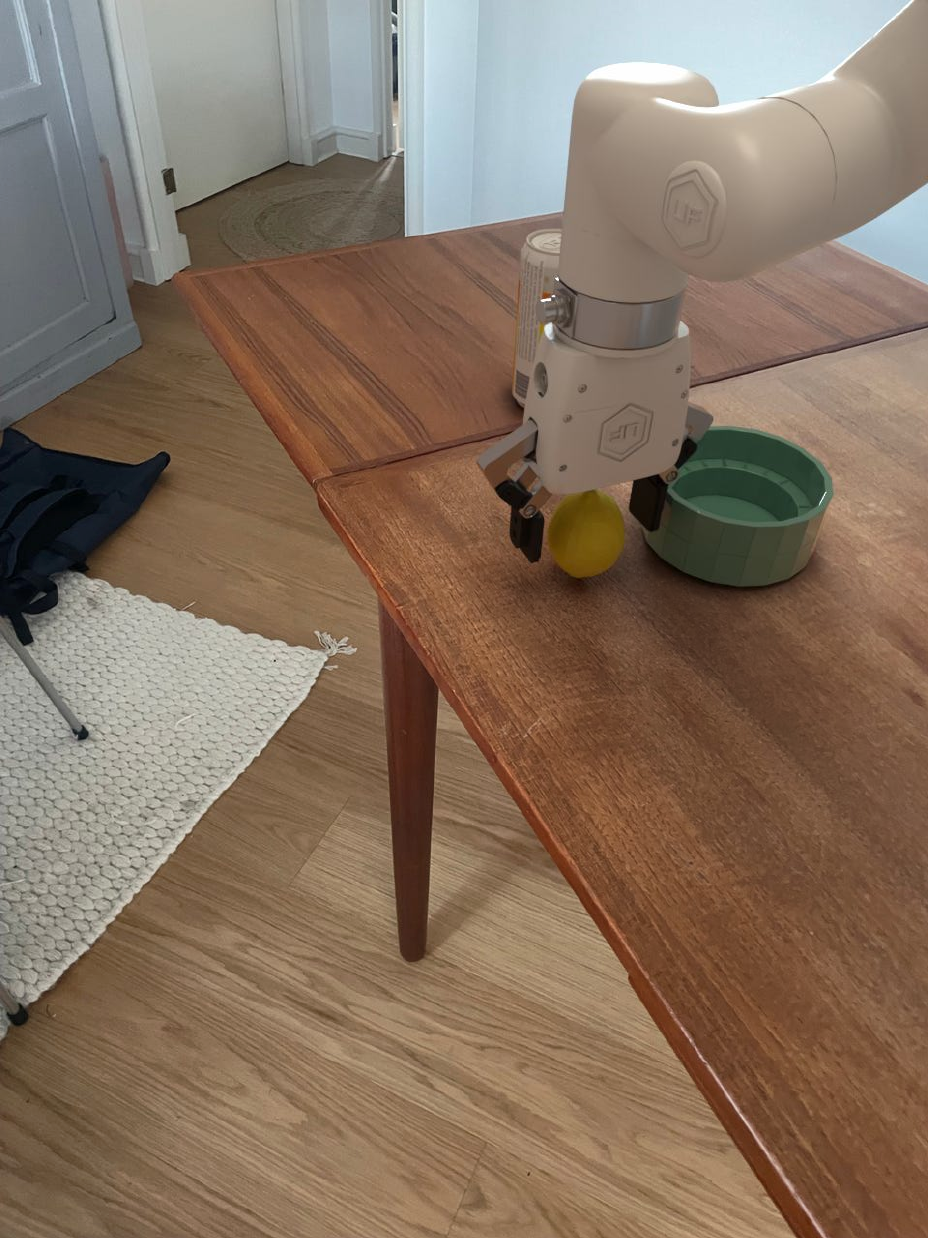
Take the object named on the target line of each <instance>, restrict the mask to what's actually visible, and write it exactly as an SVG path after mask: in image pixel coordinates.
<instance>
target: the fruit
mask: <svg viewBox="0 0 928 1238" xmlns="http://www.w3.org/2000/svg"><path fill="white" fill-rule="evenodd" d="M546 532H547V533H546V538H547V539H546V541H547V546H548V549H549V552H550V554H551V557H552V558H553V560H554V562H555V563H556V565H558V567H559V568H561V569H562V570H563V571H564V572H566V573H568V574H569V576H570V577H573V578H575V579H582V578H590V577H595V576H598V575H600V574H602V573H604V572H606V571H607V570H609V569H610V568H611V567H612V566H613V565H614V564H615V562H616V561H617V560H618V559H619V557H620V555H621V553H622V551H623V548H624V544H625V538H626V526H625V519H624V516H623V513H622V511H621V509H620V507H619V505H618V503H617V501H616V500H615V499H614V498H613V497H612V496H611V495H608V493H605V492H602V491H599V490H597V489H595V490H591V491H586V492H582V493H577V494H572V495H565V497H563V499H562V500H561V501H560V502H559V503H558V504H557V505H556V507H555V509H554V510H553V513H552V514H551V517H550V520H549V522H548V527H547V531H546Z"/></svg>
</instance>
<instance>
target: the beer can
mask: <svg viewBox="0 0 928 1238" xmlns="http://www.w3.org/2000/svg"><path fill="white" fill-rule="evenodd" d="M561 232H562V228H545V229H544V228H543V229H539V230H535V231H533V232H531V233H529V234H528V235H527V236H526V238H525V239H526V241H525V242H524V244H523V246H522V248H521V249H520V256H519V257H520V259H519V273H518V287H517V288H518V289H517V290H518V291H517V292H518V293H517V304H516V320H515V337H514V348H513V349H514V351H513V364H512V365H513V367H512V382H511V393H512V396H513V398H514V399H515V400H516V401H517V403H518V405H519V406H521V408H522V409H524V408H525V402H526V396H527V390H528V385H529V380H530V375H531V371H532V366H533V362H534V358H535V355H536V351H537V348H538V344H539V341H540V338H541V335H542V332H543V330H544V327H545V325H547V324H549V323H545V324H541V323H540V322H539V321H538V319H537V316H536V304H537V302H538V301H539V300H544V299H548V297H549V296H553V291H554V280H555V278H557V273H558V266H559V254H560V243H561Z"/></svg>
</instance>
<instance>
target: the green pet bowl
mask: <svg viewBox="0 0 928 1238" xmlns="http://www.w3.org/2000/svg"><path fill="white" fill-rule="evenodd" d="M678 471H679V477H678V479H677V480H676V481H675V482H673V483H671V484H669V485H668V490H667V495H666V499H665V504H664V509H663V511H662V515H661V520H660V525H659V529H658V530H657V531H653V532H650V531H647V530H646V529H645V528H644V527H643V525H642V524H641V523H640V527H641V531H642V533H643V535H644V539H645V541H646V543H647V544H648V545H649V547H651V549H652V550H653V551H654V552H655V553H656V555H658V557H660V558H661V560H664V561H665V562H667V563H668V564H670V565H672V566H673V567H674V568H676V569H678V570H679V571H681V572H683V573H685V574H687V575H689V576H692V577H696V578H698V579H701V580H703V581H706V582H710V583H715V584H720V585H727V586H732V587H733V586H734V587H739V588H740V587H759V586H761V587H762V586H769V585H772V584H775V583H779V582H783V581H786V580H789V579H791V578H792V577H793V576H794V575H796V574H797V573H800V571H802V570H804V568H806V567H807V564H808V563H809V561H810V559H811V557H812V556H813V553H814V550H815V548H816V545H817V542H818V540H819V536H820V533H821V531H822V529H823V525H824V522H825V520H826V517H827V515H828V512H829V509H830V506H831V503H832V500H833V498H834V495H835V494H834V485H833V477H832V476H831V475H830V473H829V471H828V469H827V468H826V467H825V465H824V463H823V462H822V461H820V460H819V459H818V458H817V457H816V456H814V455H813V454H812V453H811V452H809V451H808V450H807V449H806V448H804V447H802V446H801V445H799V444H796V443H795V442H792V441H790V440H788V439H787V438H785V437H782V436H779V435H776V434H774V433H771V432H767V431H763V430H760V429H755V428H748V427H742V426H735V425H710V427H709V428H708V430H707V431H706V433H705V434H704V436H703V437H702V439H701V440H700V441H698V442H697V450H696V452H695V453H694V454H693V455H692V456H691V457H690V458H689V459H688V460H687V461H686V462H685V463H684V464H683V465H682V466H681V467H680V468H679V469H678Z"/></svg>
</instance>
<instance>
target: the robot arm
mask: <svg viewBox="0 0 928 1238" xmlns="http://www.w3.org/2000/svg"><path fill="white" fill-rule="evenodd" d="M567 157H568V159H567V167H566V178H565V179H566V180H565V188H564V189H565V191H564V202H563V211H562V221H561V229H562V232H561V243H560V254H559V266H558V273H557V278H555V280H554V291H553V296H549V297H548V299H544V300H539V301H538V302H537V304H536V316H537V319H538V321H539V322H540V323H541V324H545V323H549V324H547V325H545V327H544V330H543V332H542V335H541V338H540V341H539V344H538V348H537V351H536V355H535V358H534V362H533V366H532V371H531V375H530V380H529V385H528V390H527V396H526V402H525V408H523V417H522V424H521V425H520V426H519V427H518V428H516V429H515V430H514V431H512V432H510V433H509V434H508V435H506V436H505V437H504V438H502V439H500V440H499V441H498V442H497V443H495V444H494V445H492V446H490V447H489V448H488V449H486V450H485V451H484V452H482V453H481V454H479V456H477V459H476V465H477V467H478V468H479V470H480V472H481V473H482V474H483V476H484V478H485V479H486V481H487V482H488V485H489V486H490V487H491V489H492V490H493V491H494V493H495V494H496V495H497V497H498V498H499V499H500V500H501V501H503V502H504V503H506V504H507V505H508V506H510V507H511V508H510V518H509V519H510V520H509V533H508V534H509V540H510V542H511V543H512V545H513V546H514V548H515V549H519V550H520V552H521V553H522V554H523V555H524V556H525V558H526V559H527V561H528V562H529V563H530V564H533V563H534V564H535V563H537V562H539V560H541V558H542V549H543V543H544V542H543V541H544V531H545V522H546V521H545V520H546V519H545V515H544V514H543V513H542V511H541V508H542V507H543V506H544V505H545V504H546V503H547V502H548V500H549V499H550V498H551V496H552V495H554V496H558V497H559V496H560V497H561V496H562V497H564V496H565V497H566V496H567V495H572V494H577V493H582V492H586V491H591V490H598V489H603V488H607V487H611V486H616V485H620V484H624V483H628V482H632V485H631V491H630V497H629V504H628V511H629V513H630V514H632V516H633V517H634V518H635V519H636V520H637V521H638V523H640V525H641V524H642V525H643V527H644V528H645V529H646V530H647V531H650V532H653V531H657V530H658V529H659V525H660V520H661V515H662V511H663V509H664V504H665V499H666V495H667V490H668V485H669V484H671V483H673V482H675V481H676V480H677V479H678V477H679V471H678V469H679V468H680V467H681V466H682V465H683V464H684V463H685V462H686V461H687V460H688V459H689V458H690V457H691V456H692V455H693V454H694V453H695V452H696V450H697V442H698V441H700V440H701V439H702V437H703V436H704V434H705V433H706V431H707V430H708V428H709V427H710V426H712V424H713V422H714V420H715V419H714V416H713V415H712V414H711V413H710V412H709V411H707V409H705V408H704V407H703V406H701V405H699V404H696V403H694V402H691V401H689V398H690V387H691V372H692V371H691V369H692V368H691V364H692V363H691V362H692V360H691V359H692V358H691V357H692V355H691V336H690V328H689V326H688V325H687V324H686V323H685V322H684V321H682V319H681V318H682V313H683V308H684V304H685V303H684V302H685V298H686V293H687V288H688V282H689V276H693V277H694V278H697V279H700V280H702V281H707V282H712V283H729V282H736V281H740V280H743V279H746V278H750V277H752V276H755V275H757V274H759V273H762V272H764V271H766V270H769V269H771V268H773V267H776V266H777V265H781V264H783V263H785V262H787V261H790V260H792V259H793V258H795V257H796V256H798V255H801V254H803V253H805V252H808V251H811V250H813V249H815V248H817V247H819V246H822V245H824V244H826V243H829V242H831V241H834V240H837V239H839V238H841V237H844V236H845V235H848V234H850V233H852V232H854V231H856V230H858V229H860V228H861V227H863V226H865V225H867V224H868V223H870V222H872V221H874V220H875V219H877V218H878V217H880V216H881V215H883V214H885V213H886V212H888V211H889V210H891V209H892V208H894V207H895V206H897V205H898V204H899V203H901V202H902V201H904V200H905V199H907V198H908V197H910V196H911V195H914V193H916V192H917V191H919V190H920V189H922V188H923V187H924V186H926V185H927V184H928V0H910V1H909V2H908V3H906V5H905V6H904V7H903V8H902V9H901V10H900V11H899V12H898V13H896V14H895V16H893V17H892V18H891V19H890V20H889V21H888V22H887V23H886V24H885V25H884V26H883V27H881V28H880V29H879V30H878V31H877V32H875V33H874V35H872V37H870V38H869V39H868V40H867V41H865V42H864V43H863V44H862V45H861V46H859V48H857V49H856V50H855V51H854V52H852V54H850V55H849V56H848V57H847V58H846V59H844V61H842V62H841V63H840V64H839V65H837V67H835V68H834V69H833V70H831V71H830V72H829V73H827V74H826V75H825V76H823V77H822V78H821V79H819V80H818V81H816V82H813V83H810V84H805V85H802V86H801V85H800V86H797V87H794V88H791V89H787V90H783V91H780V92H776V93H773V94H769V95H766V96H765V95H764V96H762V97H759V98H755V99H753V100H747V101H741V102H736V103H730V104H724V105H720V101H719V94H718V93H717V91H716V88H715V86H714V84H713V83H711V81H710V80H709V79H708V78H707V77H706V76H704V75H702V74H700V73H697V72H696V71H693V70H692V69H688V68H684V67H680V66H675V65H670V64H663V63H653V62H652V63H651V62H625V63H615V64H612V65H607V66H603V67H601V68H597V69H595V70H594V71H592V72H590V74H588V75H586V77H585V78H584V79H583V80H582V82H581V83H580V85H579V86H578V88H577V91H576V93H575V97H574V99H573V106H572V114H571V122H570V136H569V145H568V156H567ZM520 460H522V461H523V462H524V463H523V464H522V466H521V467H520V468H519V469H518V471H517V472H516V473H515V474H514V476H513V477H512V478H511V477H510V476H509V475H508V471H509V468H510V467H512V466H513V465H514V464H516V463H518V462H519V461H520ZM537 478H538V479H539V480H538V482H536V483H535V485H534V487H533V488H532V489H531V490H530V491H529V490H528V489H529V488H530V487H531V485H532V484H533V483H534V481H535V480H536V479H537Z"/></svg>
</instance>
